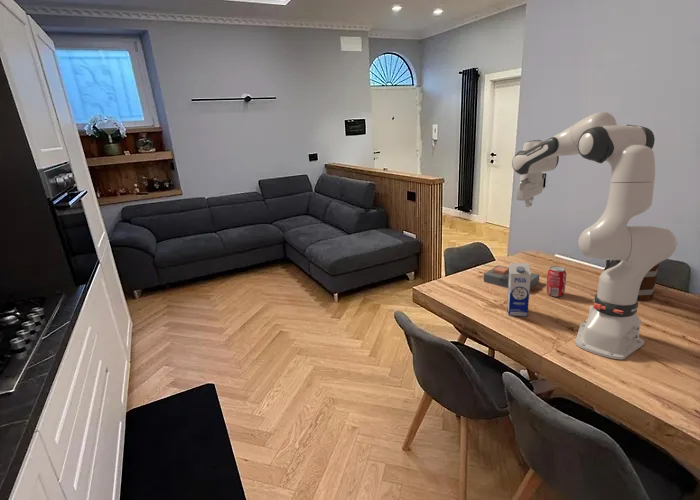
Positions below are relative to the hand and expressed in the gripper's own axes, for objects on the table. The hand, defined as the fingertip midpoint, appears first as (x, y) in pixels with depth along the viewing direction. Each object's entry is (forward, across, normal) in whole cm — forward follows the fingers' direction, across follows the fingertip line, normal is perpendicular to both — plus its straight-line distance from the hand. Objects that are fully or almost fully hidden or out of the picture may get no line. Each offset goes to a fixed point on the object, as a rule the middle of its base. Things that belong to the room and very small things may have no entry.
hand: (528, 206), depth 176 cm
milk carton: (+34, -41, -15) cm, 55 cm away
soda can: (+34, -16, -20) cm, 42 cm away
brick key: (+31, -15, +5) cm, 35 cm away
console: (+33, -15, 0) cm, 37 cm away
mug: (+34, +4, -42) cm, 54 cm away
